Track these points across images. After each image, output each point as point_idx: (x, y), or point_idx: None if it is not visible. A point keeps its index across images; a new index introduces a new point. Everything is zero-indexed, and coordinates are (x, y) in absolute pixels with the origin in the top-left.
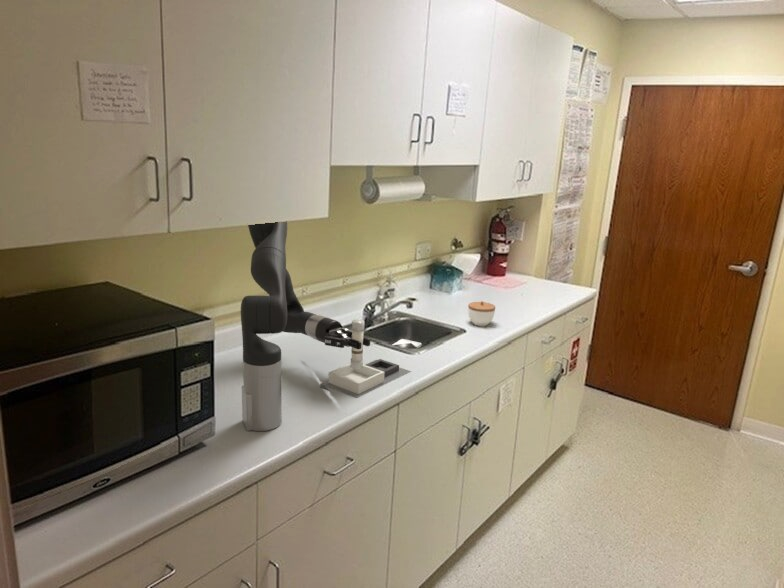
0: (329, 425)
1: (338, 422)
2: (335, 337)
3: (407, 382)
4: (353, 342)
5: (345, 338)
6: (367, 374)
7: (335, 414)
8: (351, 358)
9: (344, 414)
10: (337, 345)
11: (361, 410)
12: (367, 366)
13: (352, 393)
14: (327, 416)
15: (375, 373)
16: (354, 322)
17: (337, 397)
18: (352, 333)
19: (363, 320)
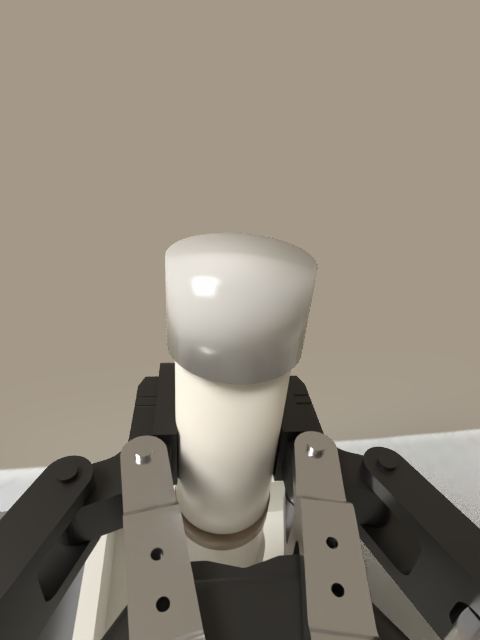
0: (475, 436)
1: (441, 433)
2: (450, 551)
3: (3, 489)
4: (305, 401)
5: (340, 470)
6: (104, 626)
7: (436, 472)
8: (255, 559)
9: (404, 455)
10: (414, 538)
11: (337, 441)
12: (82, 619)
13: None
14: (470, 478)
15: (108, 545)
16: (303, 260)
17: (376, 582)
18: (285, 392)
19: (169, 248)
